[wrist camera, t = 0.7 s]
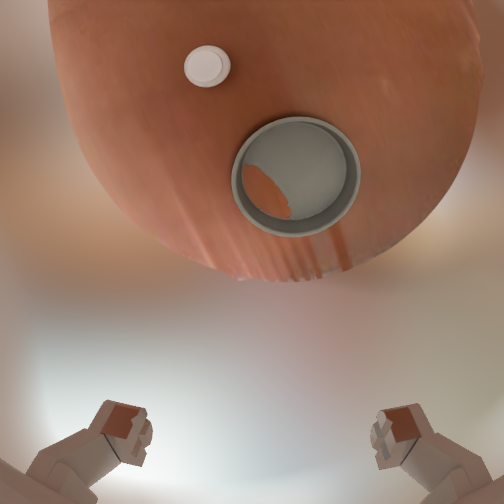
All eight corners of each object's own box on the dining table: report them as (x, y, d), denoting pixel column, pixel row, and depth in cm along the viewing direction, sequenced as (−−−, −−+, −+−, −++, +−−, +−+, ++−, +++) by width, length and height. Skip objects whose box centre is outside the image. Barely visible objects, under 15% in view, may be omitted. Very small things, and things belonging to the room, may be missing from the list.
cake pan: (238, 104, 47) (238, 108, 43) (365, 126, 50) (375, 131, 46) (226, 221, 61) (226, 233, 58) (336, 231, 64) (342, 242, 60)
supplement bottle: (200, 89, 44) (188, 96, 34) (187, 57, 40) (172, 54, 30) (236, 76, 43) (236, 79, 33) (224, 44, 40) (220, 36, 29)
